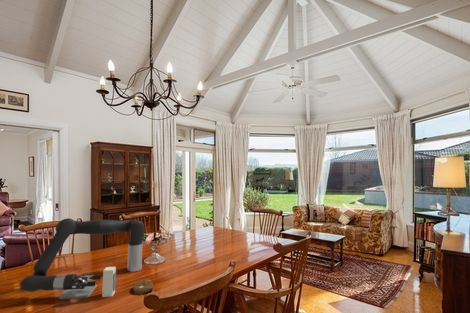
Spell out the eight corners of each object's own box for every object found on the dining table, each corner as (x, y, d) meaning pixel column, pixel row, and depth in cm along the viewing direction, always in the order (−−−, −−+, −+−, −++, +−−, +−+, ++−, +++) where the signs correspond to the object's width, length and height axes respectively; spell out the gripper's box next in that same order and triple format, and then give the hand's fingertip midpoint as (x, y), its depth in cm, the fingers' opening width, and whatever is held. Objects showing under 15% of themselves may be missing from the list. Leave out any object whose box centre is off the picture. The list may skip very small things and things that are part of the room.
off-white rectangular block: (105, 293, 146) (106, 267, 147) (115, 292, 147) (116, 266, 148) (102, 297, 141) (103, 270, 142) (112, 296, 142) (113, 270, 143)
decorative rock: (131, 286, 156) (133, 298, 143) (131, 279, 156) (133, 290, 143) (151, 282, 161) (155, 293, 148) (151, 275, 161) (155, 286, 148)
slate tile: (70, 287, 152) (70, 285, 152) (96, 286, 155) (96, 284, 155) (58, 299, 138) (58, 296, 139) (87, 297, 141) (87, 295, 141)
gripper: (59, 280, 134) (93, 278, 137) (71, 269, 149) (102, 268, 151) (58, 295, 134) (93, 293, 137) (71, 283, 148) (102, 281, 151)
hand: (98, 280), depth 144 cm, fingers open, 8 cm apart
